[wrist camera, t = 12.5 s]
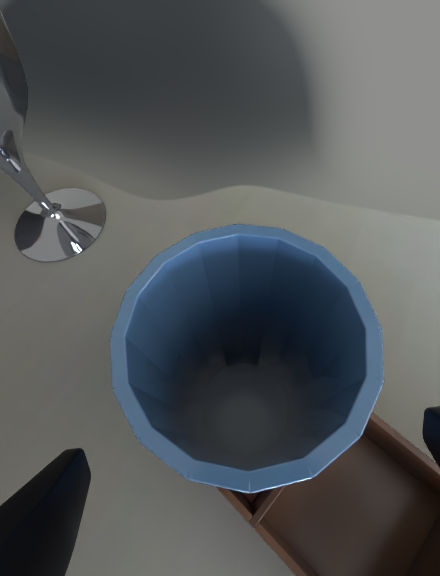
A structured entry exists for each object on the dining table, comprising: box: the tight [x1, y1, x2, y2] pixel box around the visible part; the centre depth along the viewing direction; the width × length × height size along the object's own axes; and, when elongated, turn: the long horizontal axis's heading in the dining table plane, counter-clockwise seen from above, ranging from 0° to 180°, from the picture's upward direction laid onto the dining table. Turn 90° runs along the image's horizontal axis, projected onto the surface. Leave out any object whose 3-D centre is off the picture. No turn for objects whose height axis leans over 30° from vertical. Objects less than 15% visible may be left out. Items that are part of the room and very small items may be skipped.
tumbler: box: [110, 224, 384, 493], centre depth 11 cm, size 5×5×12 cm
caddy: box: [216, 412, 440, 576], centre depth 14 cm, size 20×7×3 cm, turn 47°
